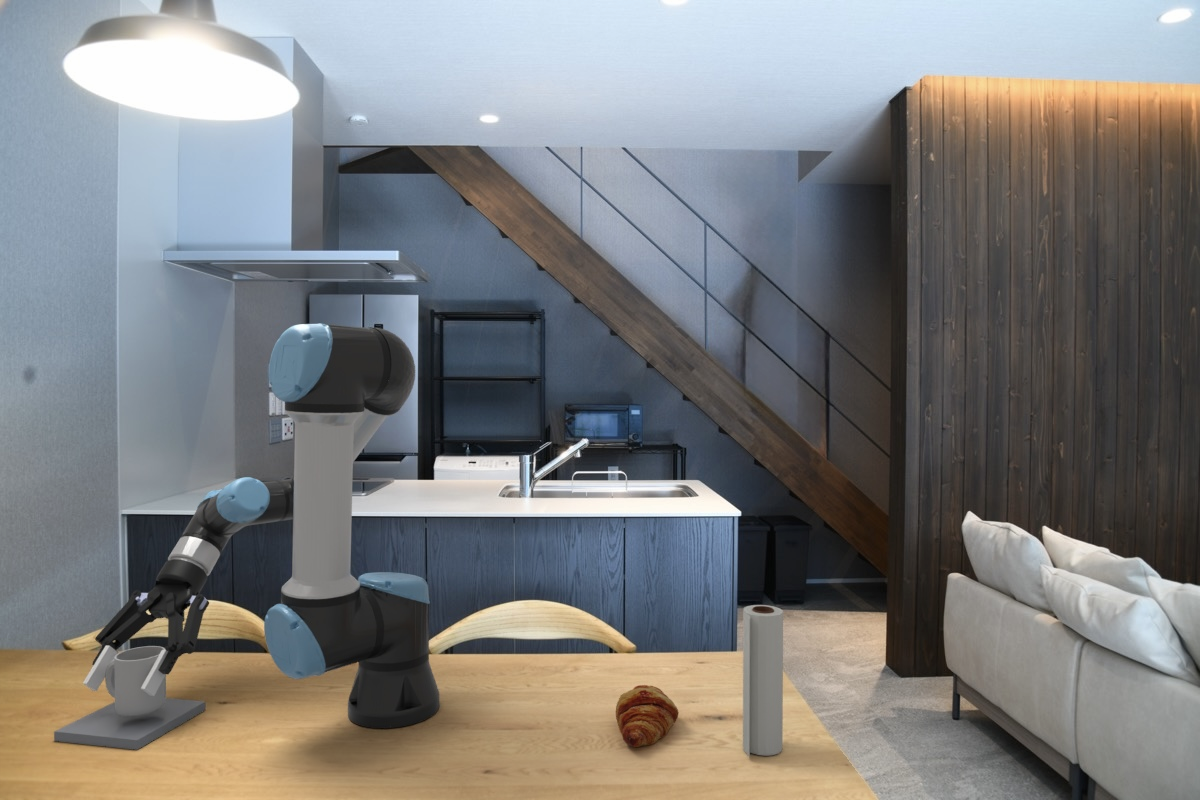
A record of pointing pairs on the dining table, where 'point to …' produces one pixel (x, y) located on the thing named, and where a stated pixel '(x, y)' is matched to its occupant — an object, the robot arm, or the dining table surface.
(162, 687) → the cup
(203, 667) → the dining table surface
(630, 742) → the croissant
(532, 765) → the dining table surface
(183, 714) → the slate tile
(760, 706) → the paper towel roll
